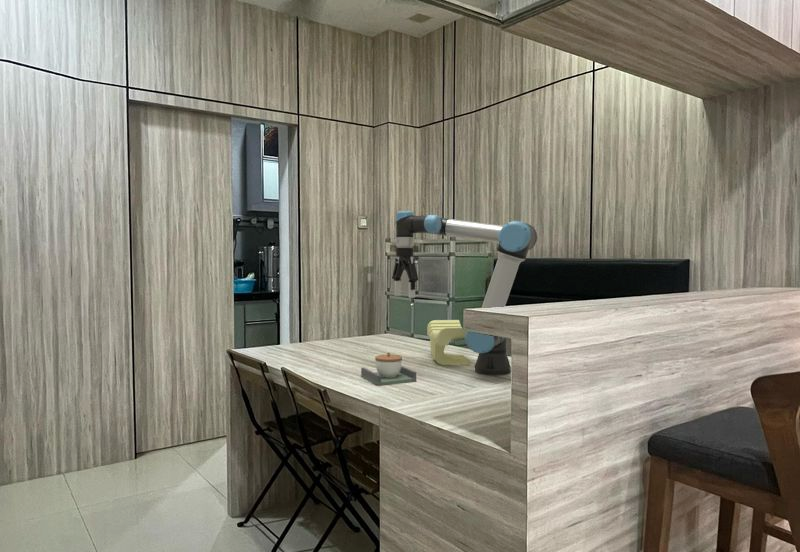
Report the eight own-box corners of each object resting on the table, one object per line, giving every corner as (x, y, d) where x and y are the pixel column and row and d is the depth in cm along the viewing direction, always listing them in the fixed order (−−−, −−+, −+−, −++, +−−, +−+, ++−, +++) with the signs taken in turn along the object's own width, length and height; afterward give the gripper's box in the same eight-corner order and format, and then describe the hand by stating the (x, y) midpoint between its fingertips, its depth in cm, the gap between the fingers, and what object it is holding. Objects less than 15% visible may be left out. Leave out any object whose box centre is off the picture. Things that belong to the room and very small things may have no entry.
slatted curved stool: (427, 356, 263) (427, 320, 263) (458, 355, 265) (459, 319, 264) (438, 368, 233) (438, 328, 233) (474, 367, 235) (474, 327, 235)
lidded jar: (371, 378, 209) (371, 354, 208) (379, 372, 219) (379, 349, 219) (398, 379, 206) (398, 355, 206) (404, 374, 217) (404, 351, 216)
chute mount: (397, 373, 224) (397, 364, 224) (416, 381, 209) (416, 372, 209) (361, 376, 217) (361, 367, 217) (378, 385, 201) (378, 376, 201)
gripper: (384, 247, 239) (384, 295, 239) (410, 246, 216) (410, 298, 217) (399, 247, 242) (399, 294, 243) (426, 246, 220) (426, 298, 220)
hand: (404, 296), depth 230 cm, fingers open, 13 cm apart
